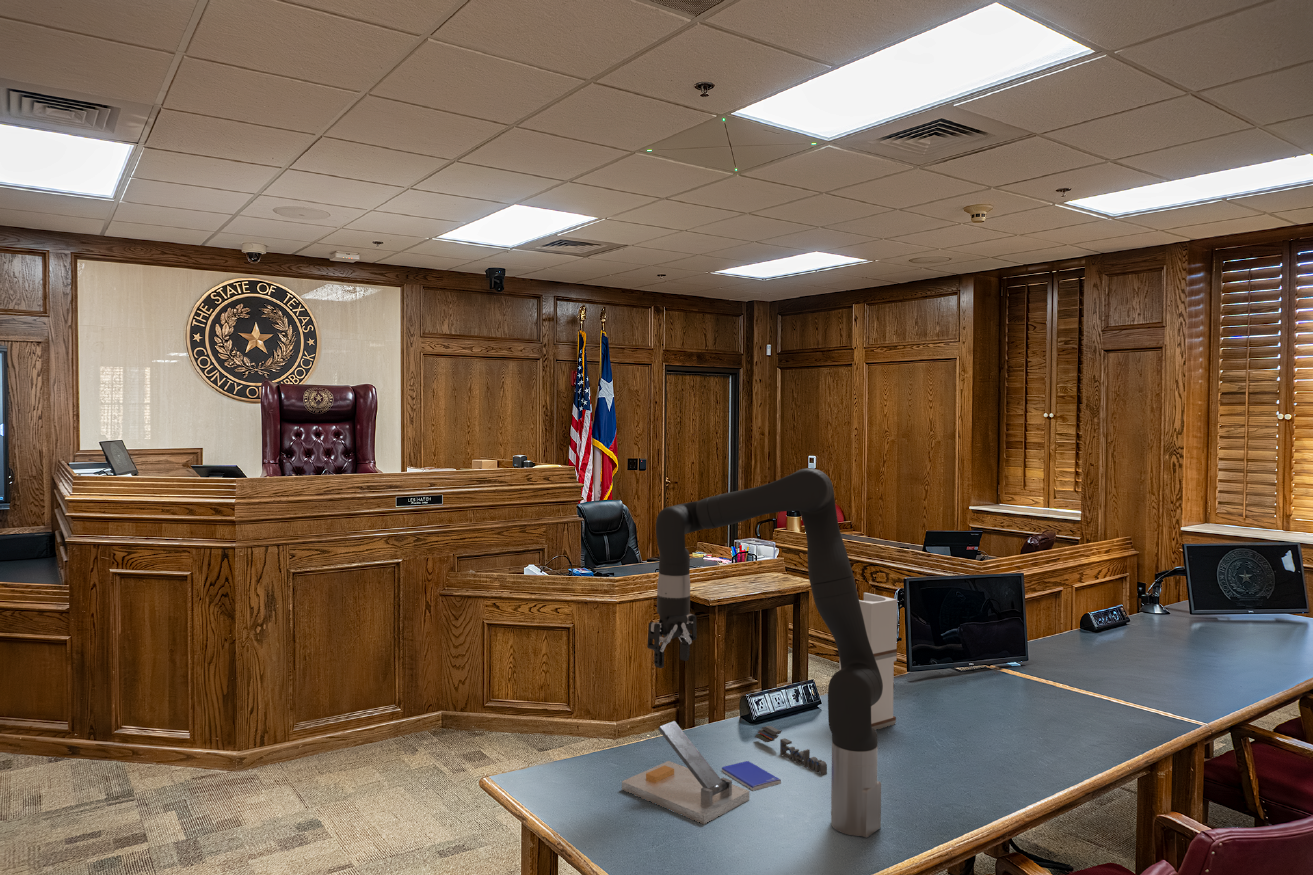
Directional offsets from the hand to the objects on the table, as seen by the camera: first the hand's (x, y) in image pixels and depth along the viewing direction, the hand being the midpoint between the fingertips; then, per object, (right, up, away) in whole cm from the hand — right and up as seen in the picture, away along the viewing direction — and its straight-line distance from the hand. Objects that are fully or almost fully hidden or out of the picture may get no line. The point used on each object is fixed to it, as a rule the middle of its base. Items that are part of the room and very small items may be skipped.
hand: (672, 663), depth 190 cm
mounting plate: (+3, -29, -3) cm, 29 cm away
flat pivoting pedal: (+4, -20, -4) cm, 21 cm away
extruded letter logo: (+30, -29, +19) cm, 46 cm away
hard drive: (+19, -29, +7) cm, 36 cm away
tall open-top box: (+56, -29, +45) cm, 77 cm away
